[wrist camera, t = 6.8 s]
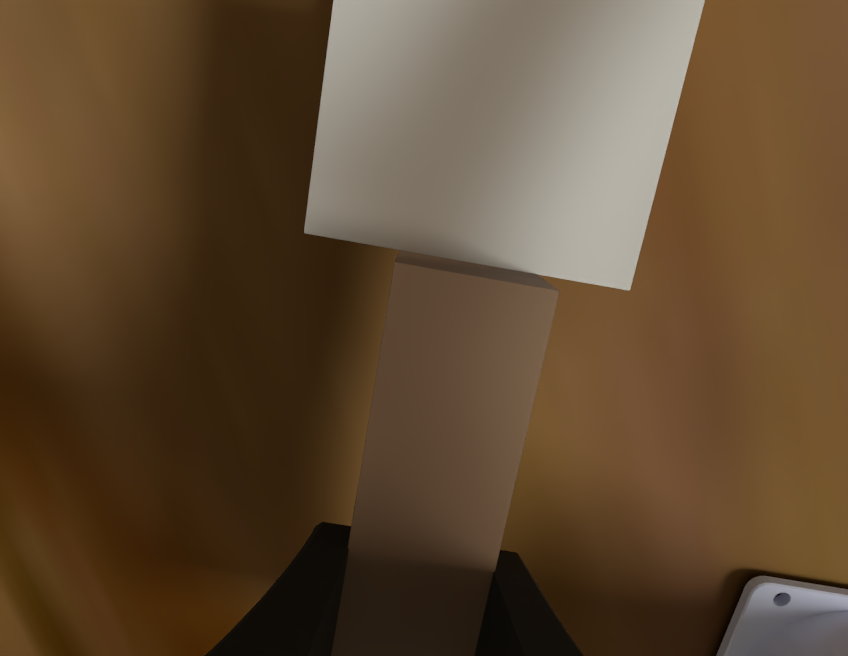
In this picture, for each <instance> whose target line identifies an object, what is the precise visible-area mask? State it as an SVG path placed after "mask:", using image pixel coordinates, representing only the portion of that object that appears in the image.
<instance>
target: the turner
mask: <svg viewBox="0 0 848 656" xmlns="http://www.w3.org/2000/svg"><path fill="white" fill-rule="evenodd" d="M704 1H705V0H333V8H332V16H331V24H330V31H329V39H328V47H327V55H326V63H325V71H324V78H323V86H322V94H321V102H320V110H319V118H318V126H317V133H316V141H315V149H314V157H313V165H312V173H311V180H310V188H309V196H308V204H307V212H306V220H305V227H304V233H306V234H312V235H317V236H323V237H329V238H334V239H340V240H346V241H351V242H357V243H363V244H368V245H374V246H380V247H385V248H391V249H397V250H400V252H399V254H398V256H397V258H396V260H395V263H394V269H393V275H392V281H391V288H390V294H389V300H388V306H387V312H386V318H385V324H384V330H383V336H382V342H381V348H380V355H379V361H378V367H377V373H376V379H375V385H374V391H373V397H372V403H371V409H370V415H369V422H368V428H367V434H366V440H365V446H364V452H363V458H362V464H361V470H360V476H359V482H358V489H357V495H356V501H355V507H354V513H353V519H352V525H351V531H350V537H349V543H348V549H349V553H348V559H347V565H346V571H345V577H344V583H343V589H342V595H341V601H340V607H339V612H338V618H337V624H336V630H335V636H334V641H333V647H332V653H331V656H474V655H475V651H476V646H477V642H478V637H479V633H480V628H481V624H482V619H483V615H484V610H485V606H486V602H487V597H488V593H489V589H490V584H491V580H492V576H493V572H495V569H496V565H497V560H498V556H499V552H500V547H501V543H502V539H503V534H504V530H505V525H506V521H507V517H508V512H509V508H510V504H511V499H512V495H513V491H514V486H515V482H516V478H517V473H518V469H519V465H520V460H521V456H522V452H523V447H524V443H525V439H526V434H527V430H528V426H529V421H530V417H531V413H532V408H533V404H534V400H535V395H536V391H537V387H538V382H539V378H540V374H541V369H542V365H543V361H544V356H545V352H546V348H547V343H548V339H549V335H550V330H551V326H552V322H553V317H554V313H555V309H556V304H557V300H558V296H559V290H557V289H556V288H555V287H553V286H552V285H550V284H549V283H548V282H546V281H545V280H544V279H542V278H541V277H539V276H538V275H544V276H550V277H555V278H561V279H567V280H572V281H578V282H584V283H589V284H595V285H601V286H606V287H612V288H618V289H623V290H629V291H630V288H631V284H632V280H633V277H634V273H635V269H636V265H637V261H638V257H639V253H640V249H641V246H642V242H643V238H644V234H645V230H646V226H647V222H648V218H649V215H650V211H651V207H652V203H653V199H654V195H655V191H656V187H657V184H658V180H659V176H660V172H661V168H662V164H663V160H664V156H665V152H666V149H667V145H668V141H669V137H670V133H671V129H672V125H673V121H674V118H675V114H676V110H677V106H678V102H679V98H680V94H681V90H682V87H683V83H684V79H685V75H686V71H687V67H688V63H689V59H690V56H691V52H692V48H693V44H694V40H695V36H696V32H697V28H698V25H699V21H700V17H701V13H702V9H703V5H704ZM537 274H538V275H537Z"/></svg>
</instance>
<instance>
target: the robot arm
mask: <svg viewBox="0 0 848 656" xmlns="http://www.w3.org/2000/svg"><path fill="white" fill-rule="evenodd" d="M350 531H351V526H345V525H339V524H332V523H326V522H322V523H320V524H318V525H317V526H316V527H315V528H314V530H313V532H312V534H311V535H310V537H309V539H308V540H307V542H306V543H305V545H304V546H303V547H302V549H301V550H300V552H299V553H298V554H297V556H296V557H295V558H294V560H293V561H292V562H291V564H290V565H289V566H288V568H287V569H286V570H285V571H284V572H283V574H282V575H281V576H280V577H279V578H278V580H277V581H276V582H275V583H274V584H273V586H272V587H271V588H270V589H269V590H268V592H267V593H266V594H265V595H264V596H263V597H262V598H261V600H260V601H259V602H258V603H257V604H256V605H255V606H254V607H253V608H252V609H251V610H250V611H249V612H248V613H247V614H246V615H245V617H244V618H243V619H242V620H241V621H240V622H239V623H238V624H237V625H236V626H235V627H234V628H233V629H232V630H231V631H230V632H229V633H228V634H227V635H226V636H225V637H224V638H223V639H222V640H221V641H220V642H219V643H218V644H217V645H216V646H215V647H214V648H213V649H212V650H210V651H209V652H208V653H207V654H206V655H205V656H331V653H332V647H333V641H334V636H335V630H336V624H337V618H338V612H339V607H340V601H341V595H342V589H343V583H344V577H345V571H346V565H347V559H348V553H349V549H348V543H349V537H350ZM779 593H781V595H779V596H777V597H775V596H776V595H777V594H779ZM474 656H583V654H582V653H581V652H580V650H579V649H578V647H577V646H576V644H575V643H574V641H573V640H572V638H571V637H570V635H569V634H568V633H567V631H566V630H565V628H564V627H563V625H562V624H561V622H560V621H559V619H558V618H557V616H556V614H555V613H554V611H553V610H552V608H551V607H550V605H549V603H548V602H547V600H546V599H545V597H544V595H543V594H542V592H541V591H540V589H539V587H538V586H537V584H536V582H535V581H534V579H533V578H532V576H531V574H530V573H529V571H528V569H527V568H526V566H525V564H524V563H523V561H522V560H521V558H520V557H519V555H518V554H517V553H515V552H509V551H502V550H500V552H499V556H498V560H497V565H496V569H495V572H493V576H492V580H491V584H490V589H489V593H488V597H487V602H486V606H485V610H484V615H483V619H482V624H481V628H480V633H479V637H478V642H477V646H476V651H475V655H474ZM716 656H848V589H843V588H837V587H831V586H824V585H818V584H812V583H806V582H800V581H794V580H788V579H782V578H776V577H769V576H758V577H754V578H752V579H751V580H750V581H748V583H747V584H746V586H745V588H744V590H743V592H742V595H741V597H740V600H739V602H738V604H737V607H736V609H735V612H734V614H733V616H732V619H731V621H730V624H729V626H728V628H727V631H726V633H725V636H724V638H723V640H722V643H721V645H720V648H719V650H718V653H717V655H716Z"/></svg>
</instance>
